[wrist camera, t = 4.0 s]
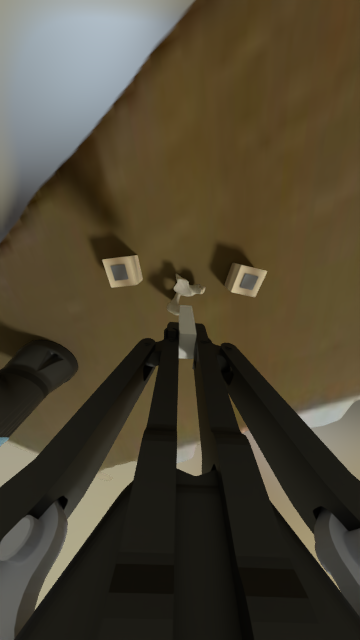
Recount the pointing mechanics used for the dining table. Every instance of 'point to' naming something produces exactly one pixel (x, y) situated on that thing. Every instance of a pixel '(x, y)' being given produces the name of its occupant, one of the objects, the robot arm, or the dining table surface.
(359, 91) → the dining table surface
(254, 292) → the marked cube 1
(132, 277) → the marked cube 2
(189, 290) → the white irregular piece
